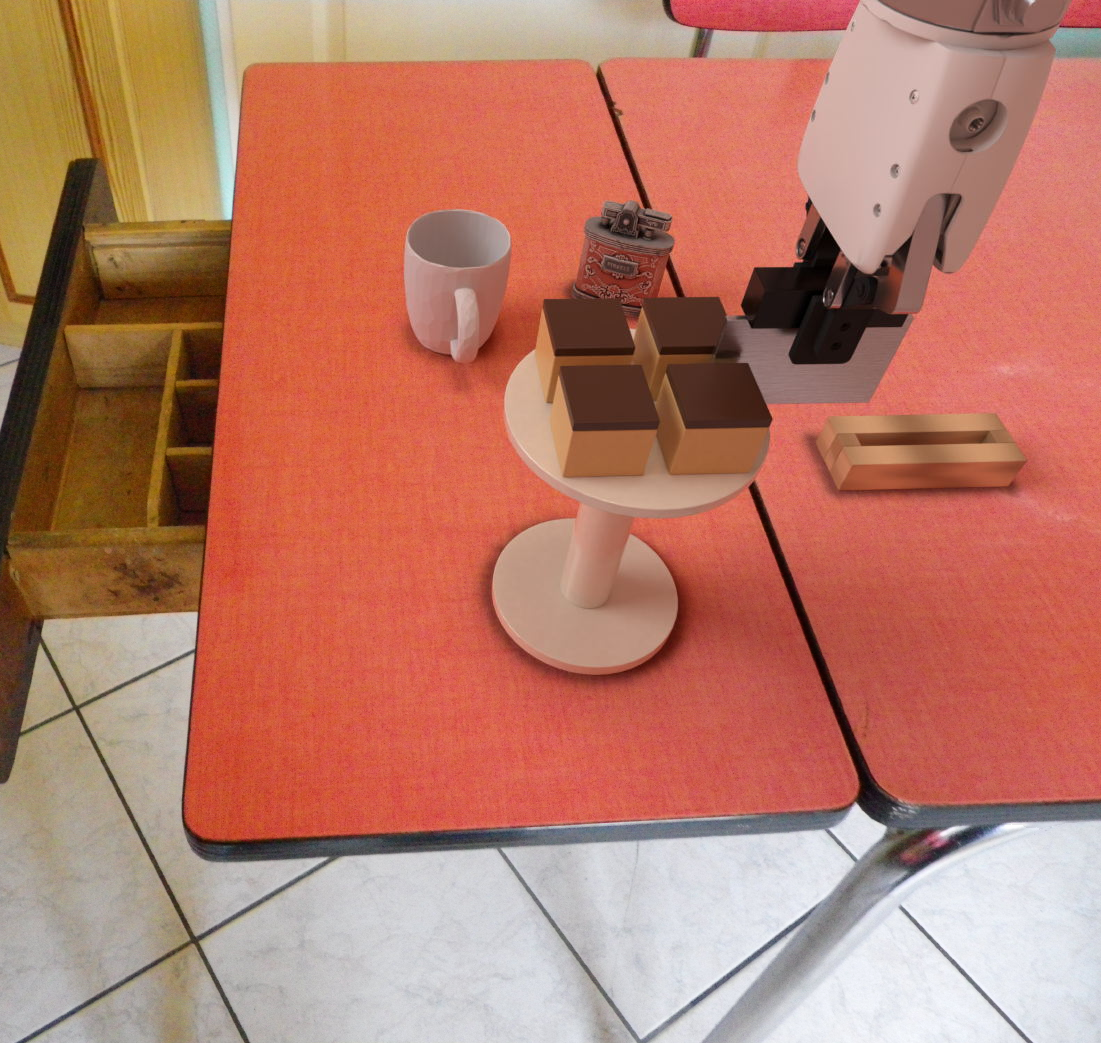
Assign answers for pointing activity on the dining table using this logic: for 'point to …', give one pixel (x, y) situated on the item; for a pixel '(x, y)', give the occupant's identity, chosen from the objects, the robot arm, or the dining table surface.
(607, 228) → the lighter
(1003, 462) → the knife block
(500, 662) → the dining table surface
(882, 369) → the knife
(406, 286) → the mug
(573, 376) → the cake
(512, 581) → the cake stand
